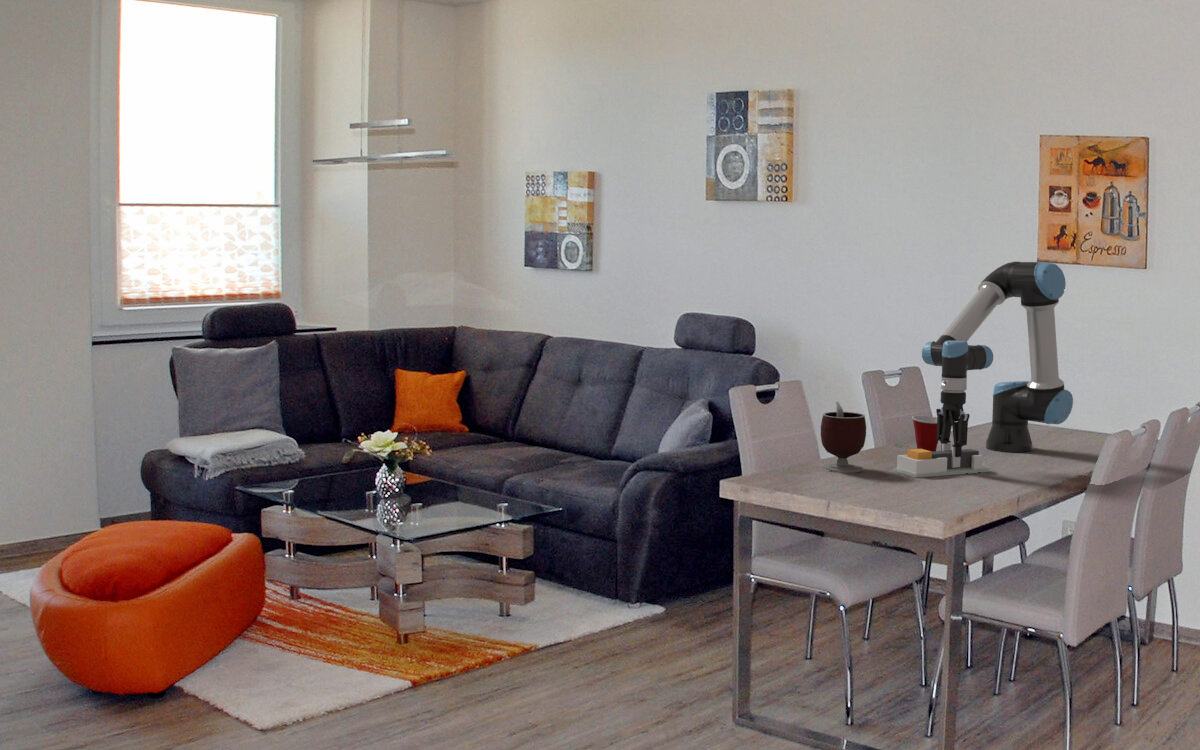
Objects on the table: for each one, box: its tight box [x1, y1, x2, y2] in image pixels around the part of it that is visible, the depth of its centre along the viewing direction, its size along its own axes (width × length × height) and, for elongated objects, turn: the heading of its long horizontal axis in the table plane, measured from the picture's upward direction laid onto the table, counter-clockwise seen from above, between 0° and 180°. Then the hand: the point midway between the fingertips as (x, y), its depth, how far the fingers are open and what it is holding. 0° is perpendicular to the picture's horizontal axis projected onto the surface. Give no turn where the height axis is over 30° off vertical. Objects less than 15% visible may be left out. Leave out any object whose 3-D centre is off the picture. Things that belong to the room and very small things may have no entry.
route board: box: [894, 454, 991, 478], centre depth 388 cm, size 27×11×5 cm, turn 111°
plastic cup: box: [911, 415, 939, 452], centre depth 419 cm, size 11×11×12 cm
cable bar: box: [906, 448, 980, 469], centre depth 388 cm, size 23×6×6 cm, turn 111°
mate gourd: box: [820, 401, 867, 474], centre depth 390 cm, size 16×14×20 cm
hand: (950, 465), depth 389 cm, fingers open, 4 cm apart
